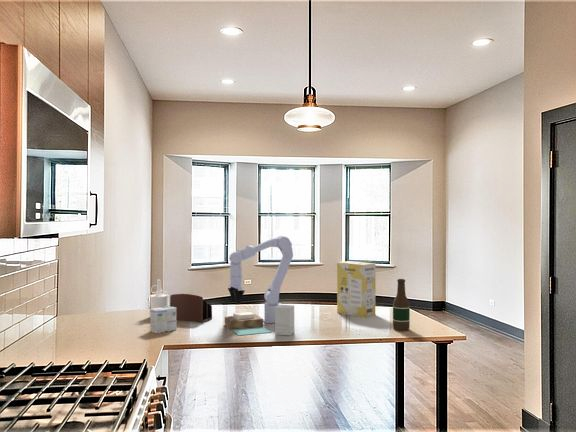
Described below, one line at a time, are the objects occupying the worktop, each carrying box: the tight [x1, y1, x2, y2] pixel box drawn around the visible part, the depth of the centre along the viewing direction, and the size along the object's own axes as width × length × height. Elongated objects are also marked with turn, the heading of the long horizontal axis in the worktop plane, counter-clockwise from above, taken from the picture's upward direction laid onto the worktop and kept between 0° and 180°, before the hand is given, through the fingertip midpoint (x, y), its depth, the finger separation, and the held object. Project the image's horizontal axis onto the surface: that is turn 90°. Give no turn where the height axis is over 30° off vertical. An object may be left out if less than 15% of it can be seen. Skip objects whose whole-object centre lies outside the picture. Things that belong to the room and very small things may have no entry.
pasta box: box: [336, 260, 376, 319], centre depth 277 cm, size 18×10×28 cm, turn 44°
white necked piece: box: [149, 279, 171, 309], centre depth 270 cm, size 10×9×20 cm
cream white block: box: [232, 311, 255, 320], centre depth 248 cm, size 9×6×2 cm, turn 112°
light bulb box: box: [149, 305, 178, 334], centre depth 238 cm, size 11×7×11 cm, turn 134°
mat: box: [231, 326, 272, 337], centre depth 236 cm, size 16×11×1 cm
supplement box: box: [274, 304, 296, 336], centre depth 232 cm, size 7×7×13 cm
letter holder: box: [170, 293, 213, 324], centre depth 263 cm, size 10×20×14 cm, turn 68°
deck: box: [224, 313, 264, 331], centre depth 248 cm, size 16×12×4 cm
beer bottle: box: [392, 278, 411, 332], centre depth 240 cm, size 8×8×24 cm
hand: (236, 302), depth 254 cm, fingers open, 7 cm apart
